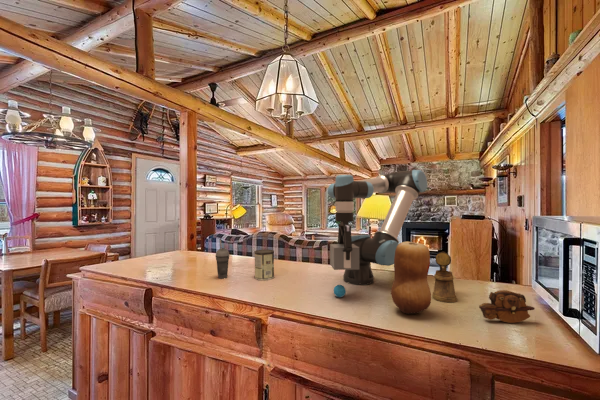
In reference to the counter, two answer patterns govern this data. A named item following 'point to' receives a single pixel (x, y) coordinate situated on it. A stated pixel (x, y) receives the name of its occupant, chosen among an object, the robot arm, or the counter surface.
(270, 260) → the coffee can
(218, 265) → the beverage cup
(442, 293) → the brown pawn shape
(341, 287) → the ball
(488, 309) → the wooden carving
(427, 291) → the butternut squash
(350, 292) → the counter surface
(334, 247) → the grey cubic block
